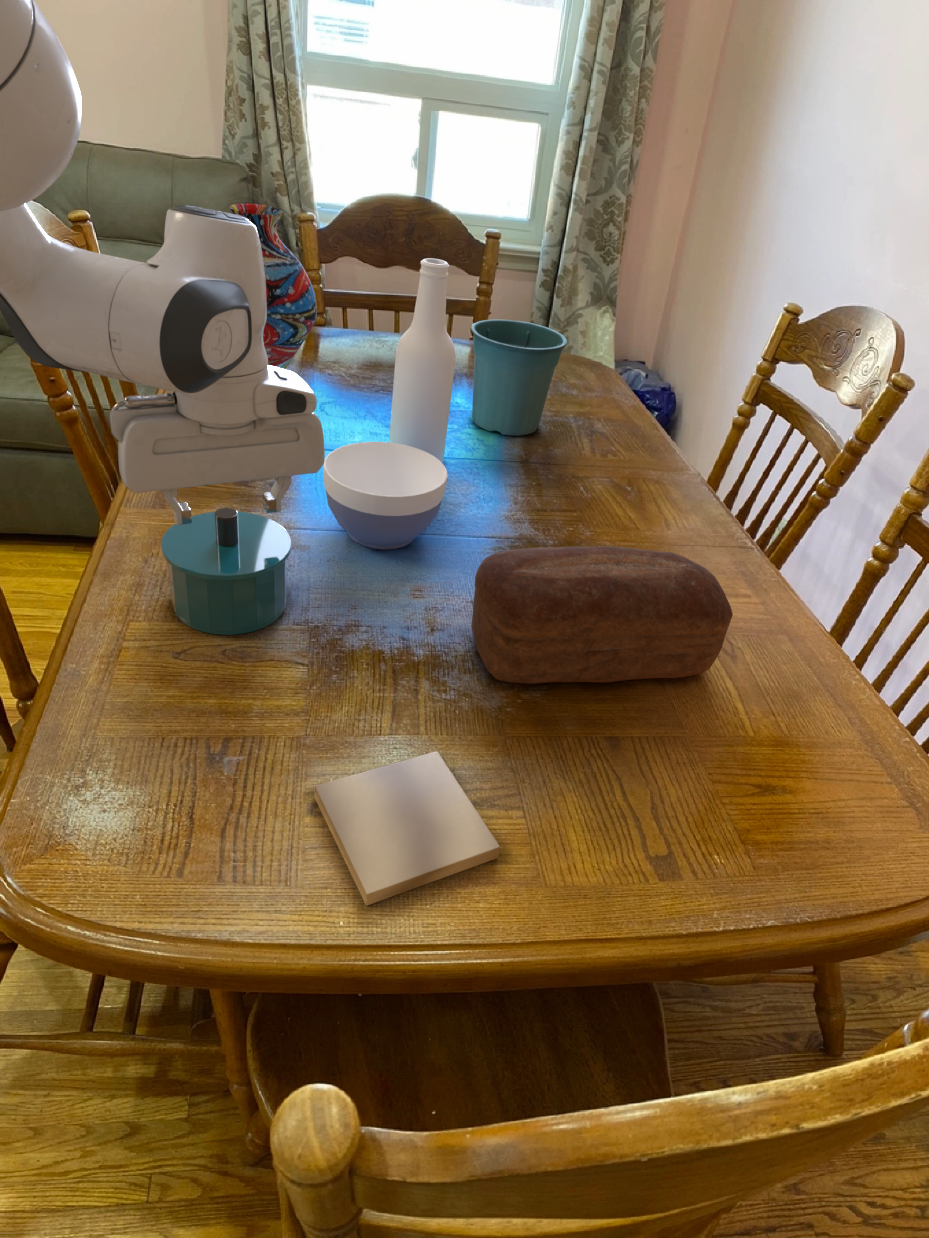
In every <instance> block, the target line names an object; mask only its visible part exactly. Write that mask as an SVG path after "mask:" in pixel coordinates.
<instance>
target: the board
mask: <svg viewBox="0 0 929 1238" xmlns="http://www.w3.org/2000/svg"><path fill="white" fill-rule="evenodd" d="M313 790H314V791H313V792H314V793H313V797H314V800H315V802H316V804H317V806H318V808H319V811H320V813H321V815H322V817H323V818H324V821H325V823H326V825H327V827H328V829H329V831H330V833H331V835H332V838H333V839H334V842H335V843H336V846H337V848H338V850H339V853H340V854H341V856H342V859H343V861H344V862H345V864H346V867H347V869H348V871H349V873H350V876H351V878H352V880H353V882H354V883H355V886H356V888H357V891H358V892H359V894H360V896H361V898H362V900H363V903H364V904H365V906H370V905H372V904H376V903H378V902H381V901H383V900H386V899H390V898H391V897H394V896H398V895H400V894H403V893H406V892H408V891H411V890H414V889H416V888H419V887H422V886H425V885H428V884H430V883H433V882H435V881H439V880H441V879H444V878H446V877H449V876H452V875H455V874H458V873H461V872H463V871H466V870H469V869H471V868H475V867H477V866H479V865H482V864H485V863H489V862H490V861H494V860H497V859H498V858H499V855H500V850H501V846H500V844H499V843H498V841H497V840H496V838H495V836H494V835H493V834H492V831H491V830H490V829H489V827H488V826H487V824H486V823H485V821H484V820H483V818H482V817H481V815H480V814H479V812H478V810H477V809H476V808H475V806H474V804H473V802H472V801H471V800H470V798H469V797H468V795H467V794H466V791H464V789H463V788H462V786H461V785H460V783H459V782H458V780H457V778H456V777H455V775H454V774H453V772H452V771H451V770H450V768H449V767H448V765H447V763H446V762H445V760H444V759H443V757H442V756H441V754H440V753H439V751H438V750H435V751H432V752H428V753H425V754H421V755H418V756H413V757H410V758H407V759H403V760H399V761H397V762H393V763H389V764H386V765H383V766H379V767H376V768H372V769H368V770H365V771H362V772H361V771H360V772H357V773H354V774H351V775H348V776H344V777H340V778H337V779H333V780H330V781H326V782H322V783H318V784H316V785H314V789H313Z"/></svg>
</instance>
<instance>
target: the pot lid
mask: <svg viewBox="0 0 929 1238" xmlns="http://www.w3.org/2000/svg"><path fill="white" fill-rule="evenodd" d="M191 519H192V523H190V524H183V525H177V524H176V523H174V524H172V525H171V526H170V527H169V528H168V529H167V530H166V531H165V532H164V534H163V536H162V538H161V541H160V544H161V545H160V548H161V553H162V556H163V558H164V560H165V561H166V562H167V564H168V563H169V564H170V565H172V566H173V567H174V568H176V569H178V570H179V571H181V572H184V573H186V574H189V575H192V576H195V577H199V578H205V579H212V580H239V579H246V578H251V577H255V576H259V575H262V574H265V573H267V572H270V571H272V570H274V569H275V568H277V567H278V566H280V565H281V564H282V563H284V562H285V560H286V559H289V557H290V554H291V551H292V538H291V536H290V534H289V532H288V531H287V530H286V529H285V527H284V526H282V525H281V524H279V522H277V521H275V520H273V519H271V518H268V517H266V516H264V515H260V514H256V513H253V512H252V513H251V512H246V511H238V510H237V509H234V508H232V507H220V508H218V509H216V510H215V511H209V512H203V513H199V514H195V515H191Z"/></svg>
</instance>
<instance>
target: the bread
mask: <svg viewBox="0 0 929 1238" xmlns="http://www.w3.org/2000/svg"><path fill="white" fill-rule="evenodd" d="M479 564H480V565H479V566H478V567H477V570H476V572H475V576H474V595H473V603H472V618H471V625H470V627H471V631H472V636H473V640H474V643H475V647H476V650H477V652H478V654H479V657H480V658H481V661H482V663H483V665H484V666H485V669H486V670H487V671H488V672H489V673H490V674H491V676H493V677H494V678H495V679H496V680H497V681H502V682H505V683H513V684H524V685H525V684H526V685H538V684H551V683H552V684H553V683H615V682H622V681H630V680H642V679H643V680H644V679H679V678H685V677H690V676H691V677H692V676H694V675H700V674H703V673H705V672H707V671H710V669H711V667H712V666H713V664H714V663H715V661H716V660H717V658H718V657H719V654H720V652H721V651H722V648H723V645H724V641H725V638H726V635H727V632H728V630H729V627H730V624H731V622H732V618H733V615H734V614H733V610H732V606H731V604H730V602H729V599H728V598H727V596H726V593H725V591H724V589H723V587H722V585H721V584H720V582H719V580H718V579H717V577H716V576H715V575H714V574H713V573H712V572H710V570H709V569H707V568H706V567H705V566H703V565H701V564H699V563H697V562H695V561H693V560H691V559H689V558H687V557H685V556H683V555H680V554H677V553H675V552H670V551H662V550H653V549H651V550H650V549H642V548H636V547H623V546H575V545H574V546H573V545H572V546H545V547H544V546H543V547H542V546H541V547H525V548H517V549H510V550H504V551H499V552H495V553H493V554H490V555H488V556H486V557H485V558H484V559H483V560H482V561H481V562H480V563H479Z"/></svg>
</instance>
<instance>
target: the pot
mask: <svg viewBox="0 0 929 1238" xmlns="http://www.w3.org/2000/svg"><path fill="white" fill-rule="evenodd" d="M287 559H288V558H287ZM287 559H286V560H285V562H284V563H282V564H281V565H280V566H278V567H277V568H275V569H274V570H272V571H270V572H267V573H265V574H262V575H259V576H255V577H251V578H246V579H239V580H212V579H205V578H199V577H195V576H192V575H189V574H186V573H184V572H181V571H179V570H178V569H176V568H174V567H173V566H172V565H170V564H169V563H168V562H167V568H168V578H169V589H170V598H171V604H172V608H173V612H174V614H175V615H176V617H177V618H178V619H179V620H180V621H181V622H182V623H183V624H185V625H186V626H187V627H189V628H191V629H194V630H196V631H199V632H202V633H206V634H212V635H219V636H233V635H234V636H235V635H242V634H249V633H252V632H256V631H259V630H261V629H264V628H266V627H268V626H269V625H272V624H273V623H274V622H276V621H277V620H278V619H279V618H280V617H281V615H282V614H283V613H284V611H285V609H286V605H287V596H288V595H287V594H288V593H287V591H288V590H287V589H288V588H287V587H288V586H287V585H288V584H287V583H288V581H287V579H288V578H287V575H288V574H287V567H288V566H287V565H288V562H287V561H288V560H287Z"/></svg>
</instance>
